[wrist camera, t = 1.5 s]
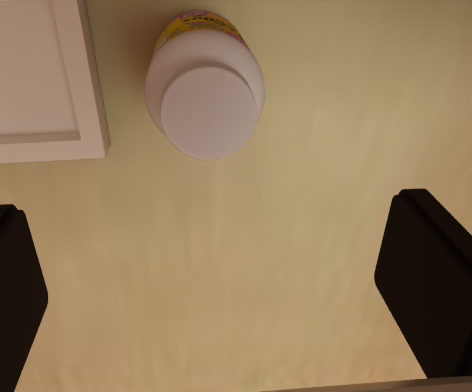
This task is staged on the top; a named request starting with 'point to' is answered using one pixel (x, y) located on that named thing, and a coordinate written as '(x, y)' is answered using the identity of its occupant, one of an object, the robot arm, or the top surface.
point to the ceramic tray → (49, 83)
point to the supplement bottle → (204, 86)
